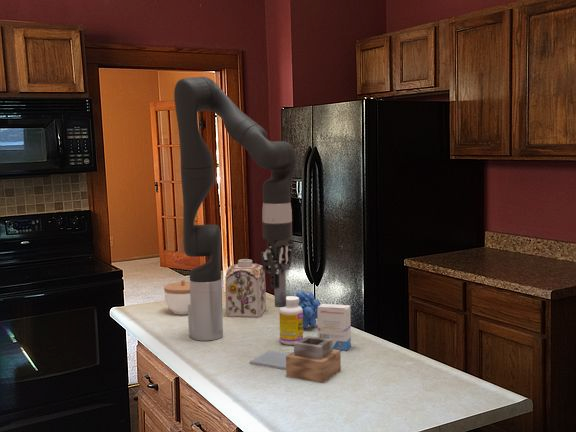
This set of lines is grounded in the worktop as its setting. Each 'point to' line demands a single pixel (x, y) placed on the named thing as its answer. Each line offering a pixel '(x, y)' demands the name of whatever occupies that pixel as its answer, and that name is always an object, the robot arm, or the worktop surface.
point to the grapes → (308, 308)
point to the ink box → (335, 325)
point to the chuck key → (281, 286)
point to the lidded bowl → (178, 297)
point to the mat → (271, 359)
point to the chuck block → (313, 359)
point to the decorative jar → (245, 289)
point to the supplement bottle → (291, 321)
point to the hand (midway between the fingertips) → (278, 286)
